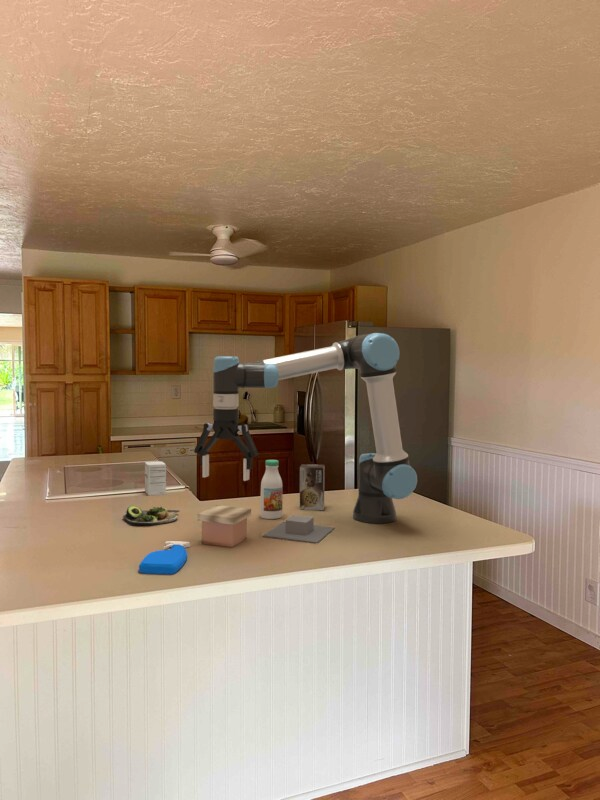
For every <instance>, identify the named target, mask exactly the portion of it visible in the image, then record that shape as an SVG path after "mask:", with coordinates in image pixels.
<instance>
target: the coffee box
mask: <svg viewBox="0 0 600 800" xmlns="http://www.w3.org/2000/svg"><path fill="white" fill-rule="evenodd" d="M325 469H326V468H325V464H304V463H303V464H301V465H300V466H299V510H300V509H304V511H305V510H307V511H324V509H325Z"/></svg>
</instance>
